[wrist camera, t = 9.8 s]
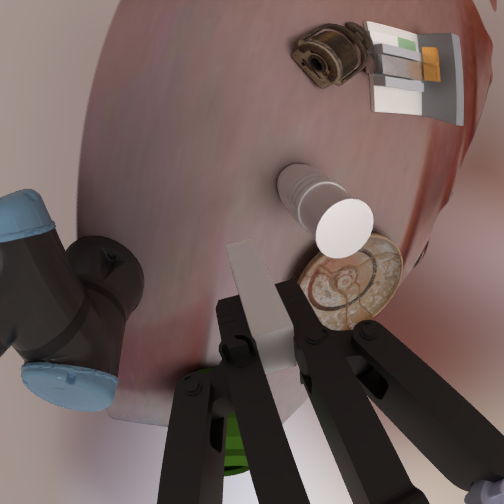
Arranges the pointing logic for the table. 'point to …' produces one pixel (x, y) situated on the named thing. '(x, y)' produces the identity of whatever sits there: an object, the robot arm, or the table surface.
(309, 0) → the table surface
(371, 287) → the ceramic bowl
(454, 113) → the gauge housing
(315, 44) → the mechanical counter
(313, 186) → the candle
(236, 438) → the vase
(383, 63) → the grey metal bar
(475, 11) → the table surface
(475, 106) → the table surface
